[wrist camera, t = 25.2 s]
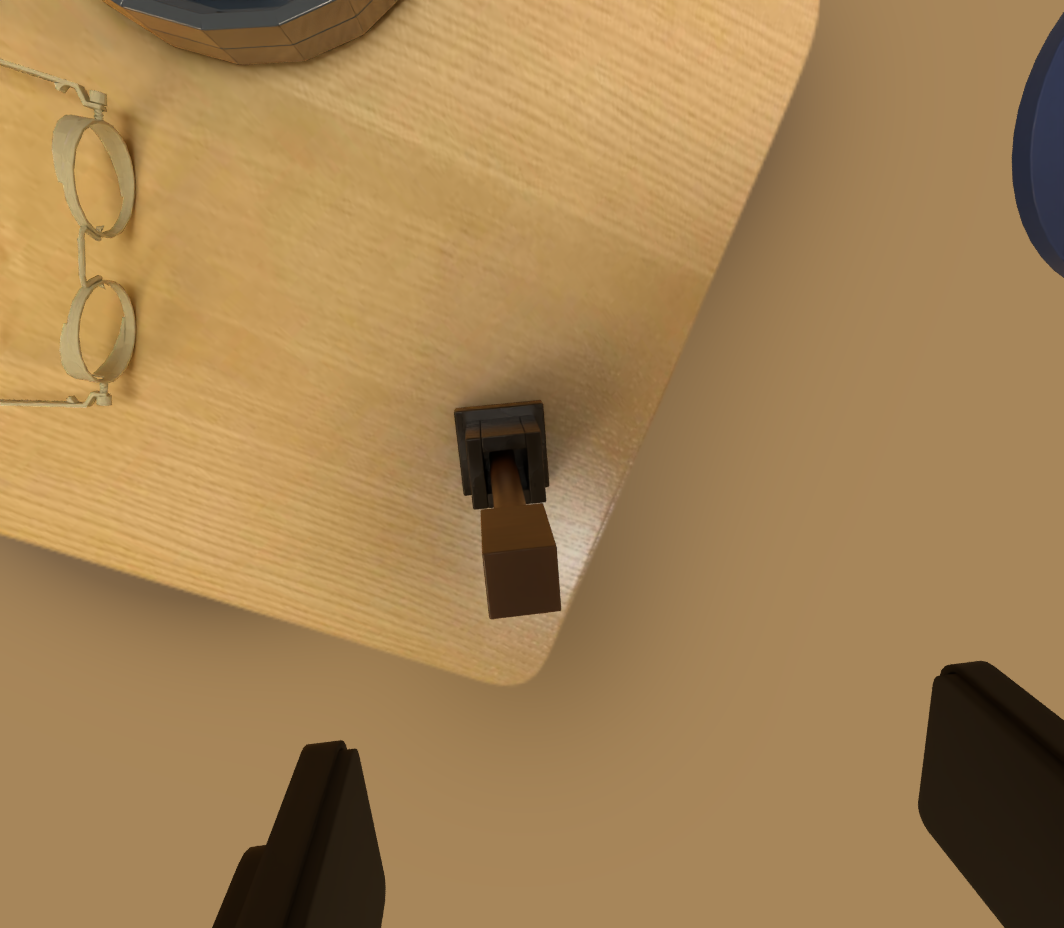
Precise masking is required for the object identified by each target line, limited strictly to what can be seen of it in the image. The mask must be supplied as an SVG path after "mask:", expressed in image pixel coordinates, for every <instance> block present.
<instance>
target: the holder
mask: <svg viewBox="0 0 1064 928" xmlns="http://www.w3.org/2000/svg"><path fill="white" fill-rule="evenodd" d="M454 417H455V425H456V434H457V442H458V451H459V459H460V467H461V476H462V484H463V493H464V495H465V496H467V495H472V503H473V509H484V508H488V507H489V508H494V505H493V494H492V484H491V473H490V463H489V452H494V451H503V450H513V452H514V456H515V460H516V464H517V468H518V473H519V477H520V481H521V485H522V489H523V494H524V498H525V502H526V504H531V503H532V504H533V503H542V502H546V491H545V487H549V475H548V461H547V448H546V435H545V422H544V409H543V403H542V401H541V400H537V401H526V402H516V403H506V404H495V405H485V406H475V407H465V408H456V409H455V410H454Z"/></svg>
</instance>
